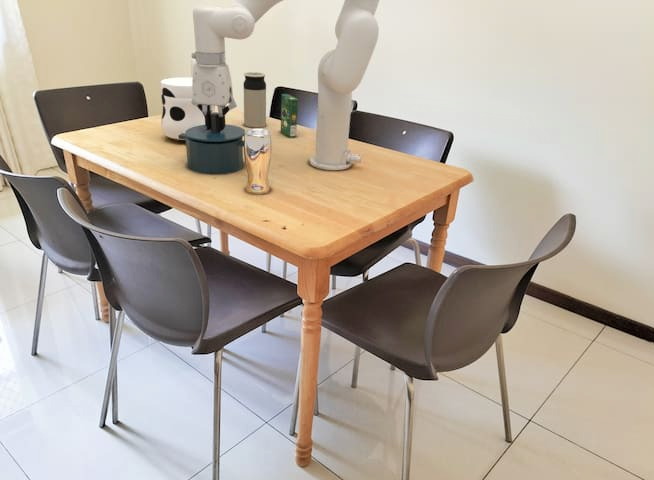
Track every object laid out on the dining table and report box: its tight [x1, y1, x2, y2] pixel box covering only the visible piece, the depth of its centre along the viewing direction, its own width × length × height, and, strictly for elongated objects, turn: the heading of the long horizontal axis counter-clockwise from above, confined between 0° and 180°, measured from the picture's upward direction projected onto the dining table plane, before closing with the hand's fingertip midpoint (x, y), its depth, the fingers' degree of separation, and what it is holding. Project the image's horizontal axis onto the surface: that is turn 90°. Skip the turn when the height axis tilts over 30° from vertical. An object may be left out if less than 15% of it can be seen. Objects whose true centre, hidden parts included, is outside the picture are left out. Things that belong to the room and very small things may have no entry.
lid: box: [185, 111, 246, 142], centre depth 141 cm, size 17×17×6 cm
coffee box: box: [280, 93, 299, 138], centre depth 175 cm, size 8×3×13 cm, turn 27°
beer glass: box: [243, 128, 273, 195], centre depth 128 cm, size 7×7×15 cm
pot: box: [178, 133, 244, 175], centre depth 145 cm, size 16×21×8 cm
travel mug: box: [243, 71, 267, 129], centre depth 183 cm, size 8×8×18 cm
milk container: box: [160, 76, 213, 143], centre depth 165 cm, size 17×17×18 cm
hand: (215, 129), depth 142 cm, fingers closed on lid, 2 cm apart
